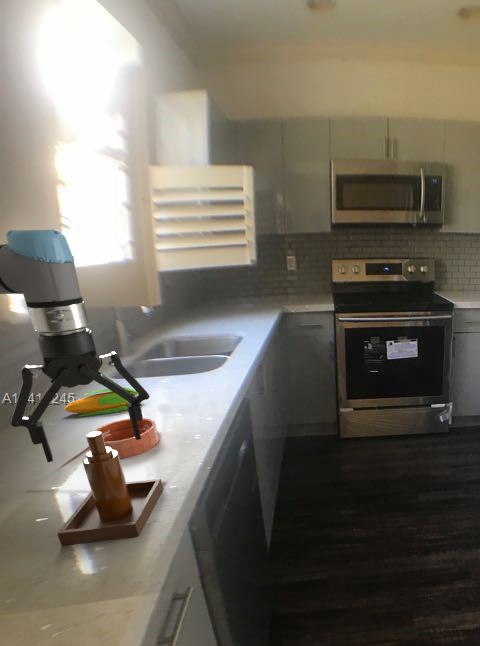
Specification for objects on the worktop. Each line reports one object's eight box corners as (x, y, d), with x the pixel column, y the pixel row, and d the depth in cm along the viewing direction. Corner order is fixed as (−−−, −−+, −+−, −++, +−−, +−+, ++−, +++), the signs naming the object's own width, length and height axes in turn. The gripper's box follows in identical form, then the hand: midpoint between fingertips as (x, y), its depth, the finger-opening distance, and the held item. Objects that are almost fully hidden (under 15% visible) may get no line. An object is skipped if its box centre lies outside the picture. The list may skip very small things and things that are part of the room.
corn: (137, 387, 134) (56, 399, 127) (142, 411, 136) (64, 424, 129) (138, 381, 141) (62, 392, 133) (144, 405, 143) (69, 417, 136)
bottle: (93, 521, 84) (67, 441, 78) (111, 504, 90) (89, 427, 84) (122, 521, 84) (98, 441, 78) (139, 504, 89) (118, 427, 83)
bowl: (80, 461, 108) (74, 442, 106) (117, 435, 121) (112, 418, 120) (139, 461, 107) (134, 442, 105) (169, 435, 120) (165, 417, 119)
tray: (98, 496, 93) (95, 485, 92) (163, 489, 95) (160, 478, 94) (61, 546, 79) (57, 533, 78) (138, 536, 81) (135, 524, 80)
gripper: (-40, 347, 65) (7, 478, 72) (151, 323, 78) (174, 435, 86) (-35, 338, 70) (9, 460, 78) (142, 317, 84) (165, 422, 92)
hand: (95, 447), depth 82 cm, fingers open, 13 cm apart
